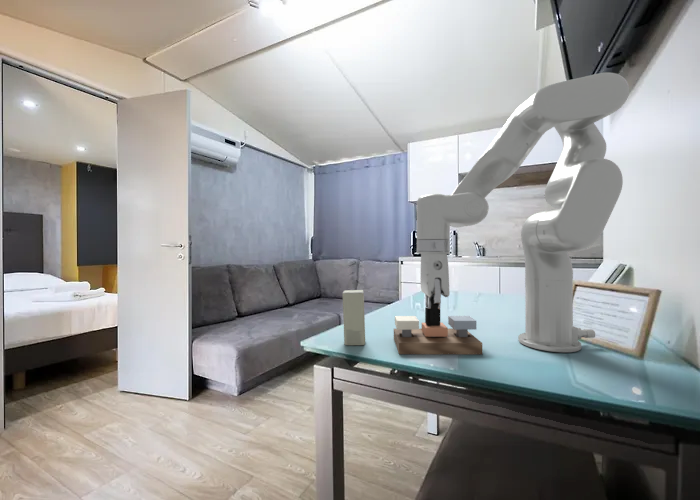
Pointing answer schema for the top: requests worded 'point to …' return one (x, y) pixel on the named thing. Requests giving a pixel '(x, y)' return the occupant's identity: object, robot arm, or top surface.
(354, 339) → the box
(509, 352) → the top surface
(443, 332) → the terracotta key
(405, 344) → the walnut board
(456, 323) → the slate key
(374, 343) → the top surface
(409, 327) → the cream key
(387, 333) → the top surface
